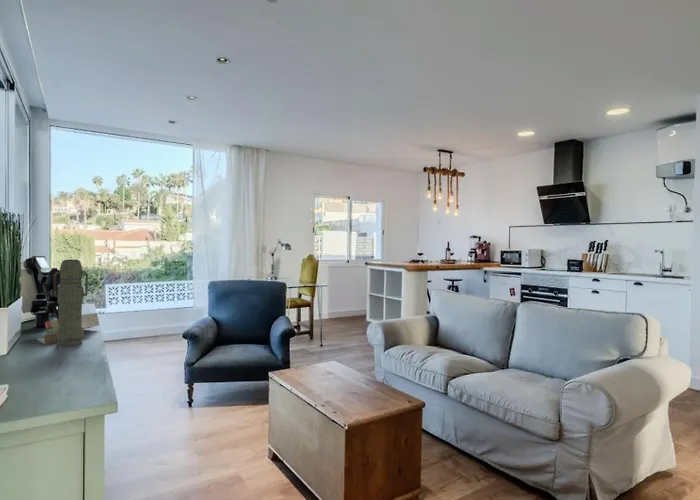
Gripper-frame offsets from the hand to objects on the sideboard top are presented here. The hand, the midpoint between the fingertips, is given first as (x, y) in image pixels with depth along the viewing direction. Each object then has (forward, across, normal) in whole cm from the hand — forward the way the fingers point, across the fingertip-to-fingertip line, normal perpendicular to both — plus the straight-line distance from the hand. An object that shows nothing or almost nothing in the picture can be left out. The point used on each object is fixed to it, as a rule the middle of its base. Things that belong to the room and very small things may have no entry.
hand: (59, 319), depth 186 cm
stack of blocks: (+2, +2, +2) cm, 4 cm away
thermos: (+21, -2, -11) cm, 24 cm away
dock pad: (+12, -2, -2) cm, 12 cm away
